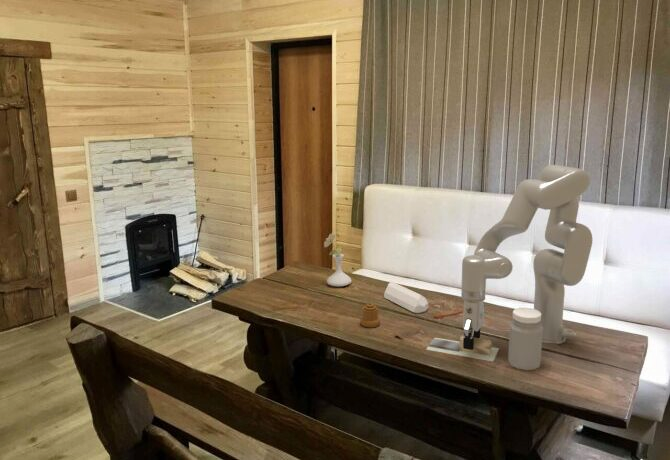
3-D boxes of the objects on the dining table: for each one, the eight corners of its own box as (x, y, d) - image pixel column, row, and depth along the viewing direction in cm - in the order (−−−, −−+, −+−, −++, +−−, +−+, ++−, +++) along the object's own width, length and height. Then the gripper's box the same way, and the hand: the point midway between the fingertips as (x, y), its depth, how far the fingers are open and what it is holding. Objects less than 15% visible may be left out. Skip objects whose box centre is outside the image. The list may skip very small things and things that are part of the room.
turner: (492, 350, 184) (492, 339, 183) (489, 357, 180) (489, 345, 179) (433, 340, 193) (433, 329, 192) (428, 346, 189) (429, 335, 188)
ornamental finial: (371, 330, 205) (356, 324, 210) (384, 323, 210) (369, 318, 216) (371, 309, 203) (355, 304, 209) (384, 304, 209) (369, 299, 214)
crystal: (377, 289, 236) (413, 307, 216) (389, 278, 238) (425, 295, 218) (384, 302, 239) (420, 320, 219) (396, 291, 241) (432, 308, 221)
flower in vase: (340, 278, 263) (339, 227, 257) (356, 284, 254) (355, 231, 248) (318, 285, 255) (316, 232, 249) (334, 291, 246) (333, 236, 240)
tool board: (499, 351, 186) (499, 348, 186) (493, 364, 177) (493, 361, 177) (434, 340, 195) (434, 337, 195) (426, 352, 187) (426, 349, 187)
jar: (545, 364, 176) (549, 311, 172) (532, 376, 169) (536, 321, 165) (515, 355, 183) (518, 304, 178) (502, 366, 176) (504, 313, 171)
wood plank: (427, 330, 206) (415, 327, 209) (427, 325, 205) (416, 322, 208) (406, 343, 194) (393, 339, 197) (406, 337, 193) (394, 334, 196)
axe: (442, 324, 209) (442, 319, 209) (432, 318, 215) (432, 314, 215) (489, 313, 218) (489, 309, 218) (478, 308, 224) (478, 304, 224)
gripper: (479, 304, 171) (477, 356, 175) (490, 286, 186) (488, 334, 190) (454, 301, 174) (453, 352, 178) (468, 284, 189) (466, 331, 193)
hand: (471, 343), depth 184 cm, fingers open, 9 cm apart
